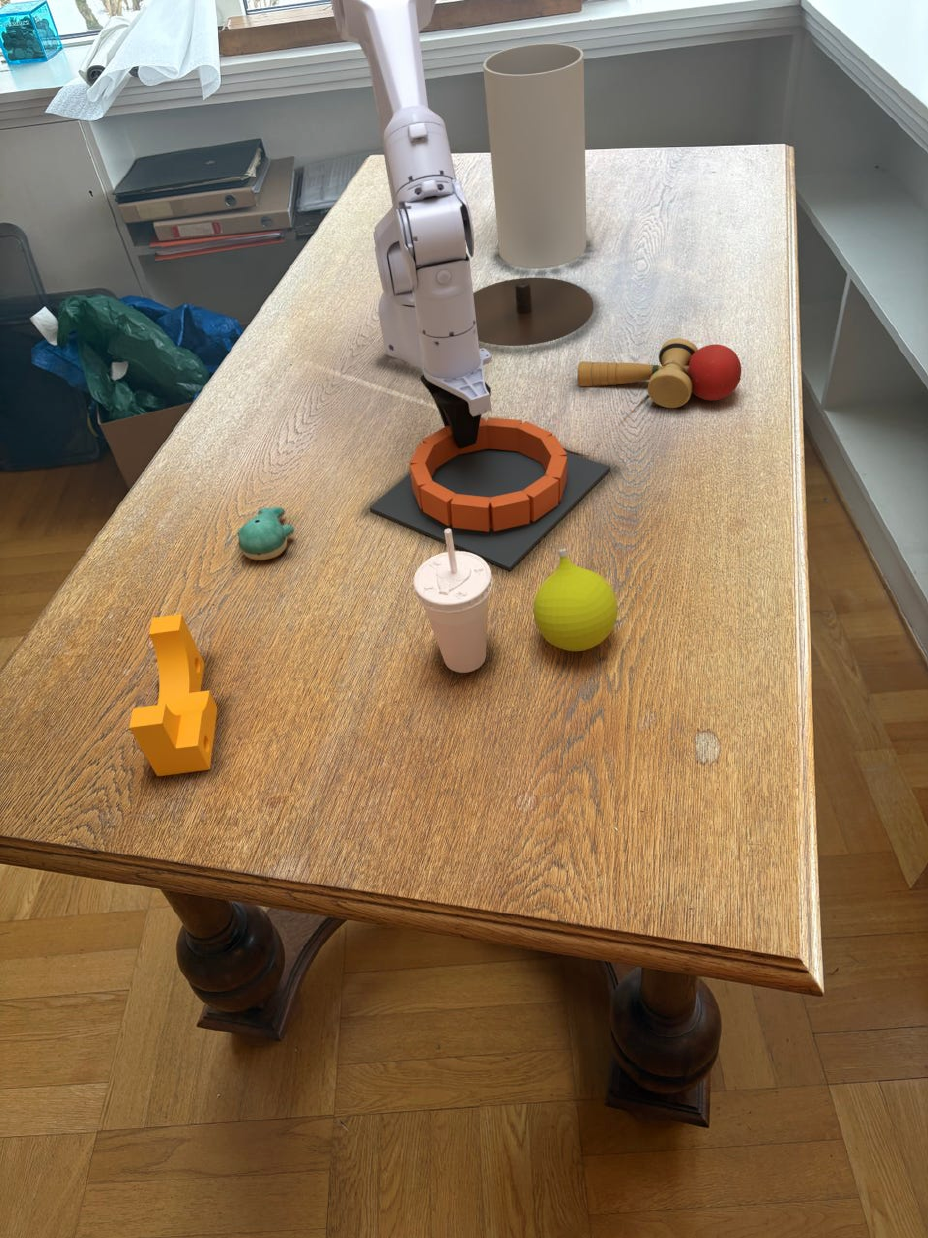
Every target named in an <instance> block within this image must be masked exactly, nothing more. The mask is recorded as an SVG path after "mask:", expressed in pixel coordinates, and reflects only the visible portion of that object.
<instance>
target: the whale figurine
mask: <svg viewBox="0 0 928 1238" xmlns="http://www.w3.org/2000/svg"><path fill="white" fill-rule="evenodd" d="M285 511H286V510H285V509H284V508H283V507H279V506H278V507H277V506H273V507H262V508H260V509H258V512H257V515H255V516H254V517H252V518H251V519H250V520H248V521H247V522H245V523H244V524H243V525H242V527H240V528H239V529H238V530H237V536H238V544H239V548H240V550H241V552H242V553H243V555H244V556H245V557H247V559H250V560H254V561H266V560H271V559H274V558H277V557H278V556H280V555H282V554H283V552H285V551H286V549H287V546H288V539H289V538H290V537H291V536H292V535H293V534H294V532H295V529H294V527H293V526H292V525H289V524H285V525H283V524H282V523H281V521H280V520H281V519H282V518H283V517H284V515H285V513H286V512H285Z"/></svg>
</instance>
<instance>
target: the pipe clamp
mask: <svg viewBox="0 0 928 1238" xmlns="http://www.w3.org/2000/svg"><path fill="white" fill-rule="evenodd" d="M148 636H149V638H150V640H151V643H152V646H153V650H154V653H155V657H156V663H157V668H158V669H157V670H158V681H159V685H158V686H159V689H158V699H157V704H156V705H147V706H139V707H134V708H132V713H131V717H130V721H129V726H128V728H129V731H130V732H131V734H132V735H133V737H134V739H135V740H136V743H137V744H138V746H139V747H140V749H141V751H142V752H143V754H144V756H145V758H146V760H147V761H148V763H149V764H150V766H151V768H152V770H153V771H154V773H155V775H156V777H163V776H164V777H165V776H170V775H178V774H186V773H194V772H202V771H208V770H210V769H211V764H212V755H213V748H214V747H213V746H214V739H215V732H216V723H217V715H218V706H217V704H216V702H215V700H214V697H213V695H212V693H211V691H210V690H209V689H208V690H202V685H203V677H204V670H205V662H204V660H203V658H202V655H201V653H200V650H199V649H198V646H197V644H196V642H195V640H194V638H193V635H192V634H191V631H190V629H189V627H188V624H187V623H186V620H185V618H184V616H183V613H179V614H171V615H165V616H157V617H152V618H151V621H150V626H149V630H148ZM201 690H202V691H201Z"/></svg>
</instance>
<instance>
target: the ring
mask: <svg viewBox="0 0 928 1238" xmlns="http://www.w3.org/2000/svg"><path fill="white" fill-rule="evenodd" d="M486 419H487V420H486ZM486 419H485V417H483V416H482V417H481V419H480V424H479V430H478V436H477V441H476V444H473V445H470V446H467V447H464V448H461V449H459V448H458V446H457V445H456V443H455V441H454V439H453V436H452V433H451V429H450V427H449V426H443V427H442V428H440V429H439V430H437V431H435V432H434V433H432V434H430V435H428V436H426V437H425V438H424V439H422V442H419V443H418V445H417V447H416V449H415V451H414V452H413V453H414V454H413V455H412V458H411V459H410V461H409V472H410V473H411V482H412V489H413V492H414V494H415V497H416V499H417V501H418V504H419V506H420V509H423V512H424V513H426V514H428V515H430V516H431V517H433V518H435V519H437V520H438V521H440V522H442V523H444V524H445V525H447V526H450V525H451V524H453V528H460V529H469V530H478V531H486V532H489V531H490V528H491V526H492V528H493V530H494V531H498V530H503V529H507V528H512V527H516V526H521V525H525V524H529V523H530V520H531V521H533V522H534V521H536V520H537V519H539V518H540V517H541V516H543V515H544V514H546V513H547V512H548V511H550V510H551V509H553V508H554V507H555V506H557V505H558V502H560V501H561V498H562V495H563V492H564V488H565V485H566V482H567V454H566V452H567V451H566V450H565V448H564V447H563V445H562V444H561V443H560V441H559V440H558V438H557V436H556V435H555V434H554V435H553V433H552V432H551V431H549V430H547V429H544V428H542V427H540V426H538V425H536V424H533V423H531V422H529V421H527V420H525V421H524V422H523V421H522V419H514V418H504V417H492V416H491V417H490V416H488V417H487V418H486ZM483 449H499V450H509V451H518V452H520V453H522V454H524V455H526V456H528V457H530V458H532V459H534V460H536V461H539V462H541V463H542V465H543V467H544V468H545V470H546V474H545V476H543V477H542V478H540V479H539V480H537V481H536V482H534V483H533V484H531V485H530V486H528V487H527V488H526V489H524V490H523V491H518V492H514V493H509V494H504V495H500V496H495V497H491V498H489V497H480V496H471V495H461V494H456V493H454V492H452V491H450V490H448V489H446V488H445V487H443V486H441V485H439V484H437V483H435V482H434V481H433V480H432V476H433V474H434V472H435V469H436V468H437V467H439V466H441V465H442V464H444V463H445V462H447V461H449V460H450V459H452V458H453V457H455V456H457V455H459V454H463V453H468V452H473V451H478V450H483ZM410 473H409V474H410Z"/></svg>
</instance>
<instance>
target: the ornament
mask: <svg viewBox="0 0 928 1238" xmlns="http://www.w3.org/2000/svg"><path fill="white" fill-rule="evenodd" d="M558 539H559V542H560V545H561V549H559V550H558V555H559V564H558V567H557V568H556V569H555V571H554V572H552V573H551V574H550V575H549V576H548V577H547V578H546V579H545V580H544V581H543V582H542V583H541V584H540V587H539V588H538V590H537V592H536V593H535V597H534V601H533V610H532V612H533V618H534V623H535V625H536V627H537V629H538V631H539V633H540V634H541V635H542V637H544V639H545V640H546V641H547V642H548V643H549V644H550V645H552V646H554V647H556V648H558V649H561V650H564V651H569V652H581V651H587V650H590V649H593V648H594V647H597V646H599V645H600V644H602V642H604V640H607V638H608V636H609V635H610V634H611V632H612V631H613V629H614V627H615V624H616V622H617V618H618V601H617V598H616V595H615V592H614V590H613V588H612V586H611V585H610V584H609V582H608V581H607V580H606V579H605V578H604V577H603V576H602V575H601V574H599V573H597V572H595V571H592V570H590V569H588V568H584V567H581V566H579V565H576V564H574V563H573V561H571V560H570V558H569V557H568V553H567V552H568V551H567V549H566V548H563V543H562V540H561V536H559V537H558Z"/></svg>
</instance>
